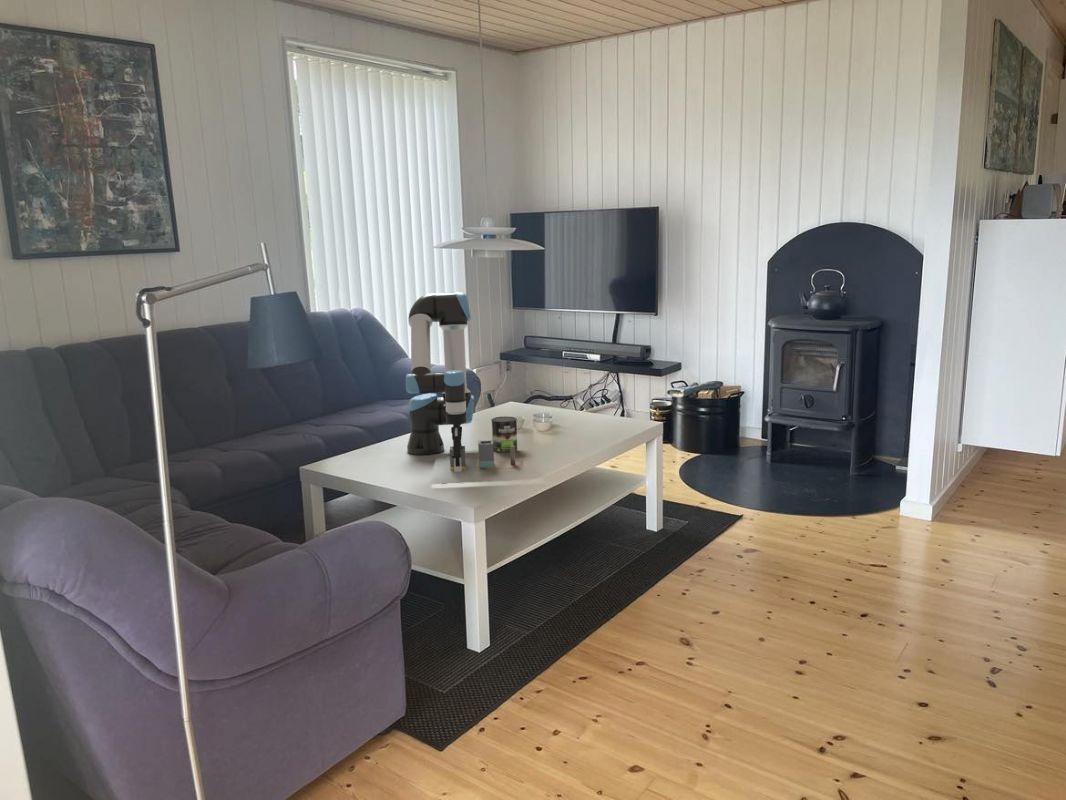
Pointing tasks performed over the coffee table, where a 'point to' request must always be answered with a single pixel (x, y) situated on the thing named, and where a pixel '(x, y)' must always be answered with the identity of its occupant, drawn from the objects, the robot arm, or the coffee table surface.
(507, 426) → the coffee can
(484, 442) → the sleeve teal
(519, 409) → the coffee table surface
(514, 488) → the coffee table surface
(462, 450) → the sleeve ochre
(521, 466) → the pin board
